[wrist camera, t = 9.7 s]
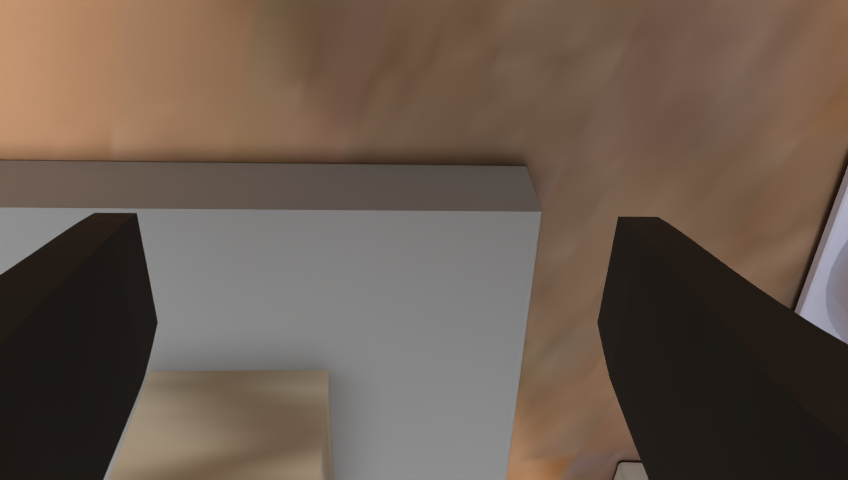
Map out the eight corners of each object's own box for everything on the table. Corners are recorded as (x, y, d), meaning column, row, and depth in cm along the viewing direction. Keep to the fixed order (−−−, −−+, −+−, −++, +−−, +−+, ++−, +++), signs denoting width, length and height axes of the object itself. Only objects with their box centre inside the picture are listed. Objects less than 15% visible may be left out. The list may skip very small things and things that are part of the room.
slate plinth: (526, 165, 22) (541, 212, 20) (483, 533, 30) (490, 592, 28) (-68, 159, 21) (-119, 206, 19) (62, 539, 29) (37, 601, 27)
